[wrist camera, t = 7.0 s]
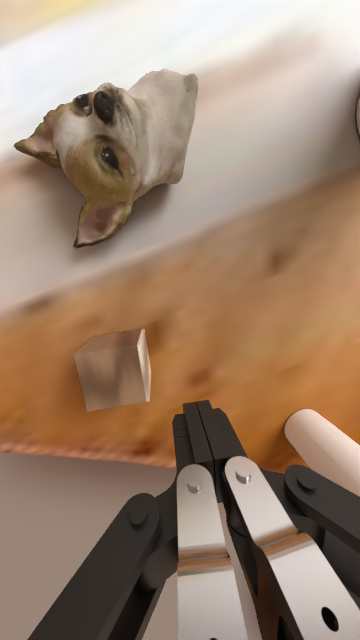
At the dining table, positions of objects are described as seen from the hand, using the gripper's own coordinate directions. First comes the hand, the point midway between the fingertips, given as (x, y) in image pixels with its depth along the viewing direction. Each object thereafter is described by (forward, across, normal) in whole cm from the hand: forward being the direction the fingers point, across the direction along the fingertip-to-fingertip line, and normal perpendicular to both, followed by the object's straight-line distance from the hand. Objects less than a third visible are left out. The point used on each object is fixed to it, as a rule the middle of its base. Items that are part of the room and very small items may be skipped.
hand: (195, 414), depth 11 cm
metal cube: (+10, +4, +1) cm, 11 cm away
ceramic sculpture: (+14, +4, -18) cm, 24 cm away
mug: (+14, -20, +18) cm, 30 cm away
